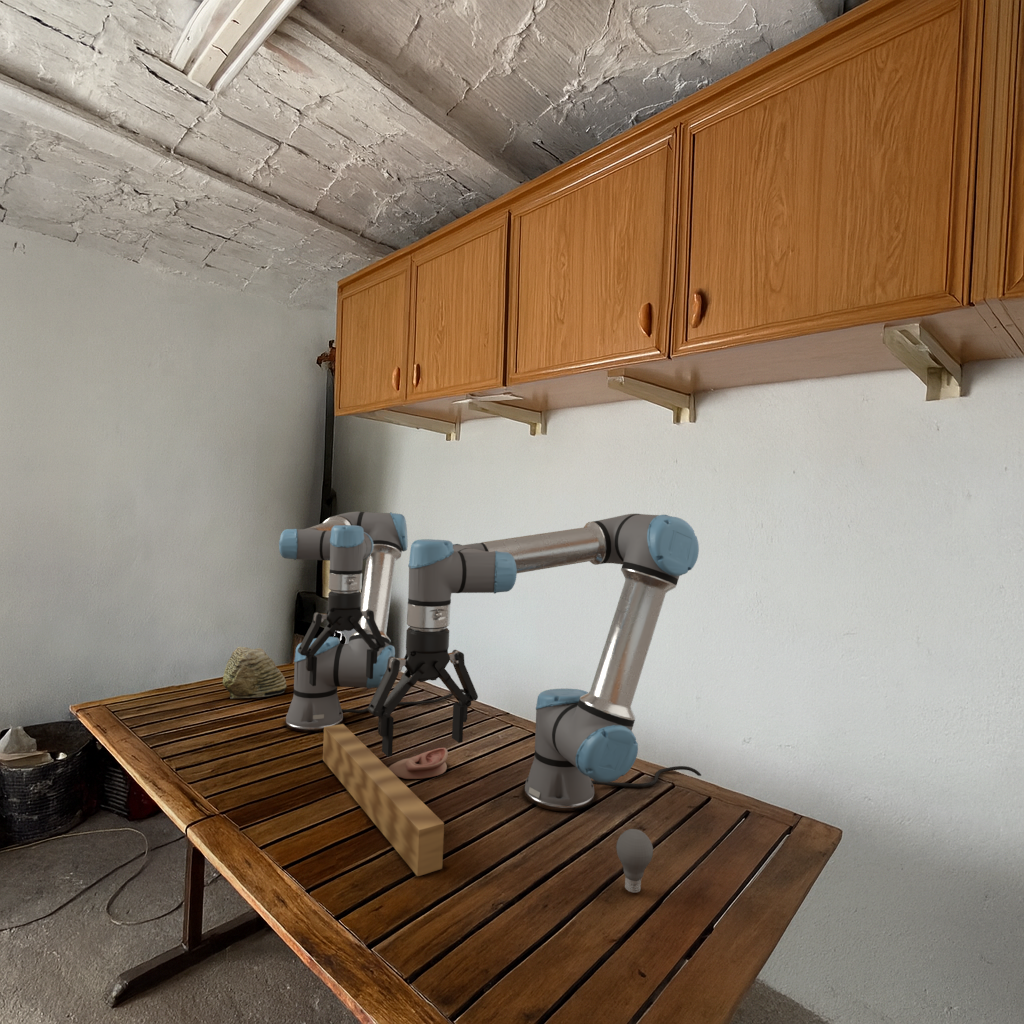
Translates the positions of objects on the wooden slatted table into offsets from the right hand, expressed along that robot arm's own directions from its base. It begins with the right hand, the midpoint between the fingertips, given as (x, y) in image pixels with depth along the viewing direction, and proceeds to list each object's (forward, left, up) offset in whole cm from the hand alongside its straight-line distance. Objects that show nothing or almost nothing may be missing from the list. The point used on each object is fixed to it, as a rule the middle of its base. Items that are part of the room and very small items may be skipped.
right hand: (423, 746), depth 112 cm
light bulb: (-24, +28, -20) cm, 42 cm away
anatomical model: (-19, -32, -20) cm, 42 cm away
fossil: (-5, -107, -20) cm, 109 cm away
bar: (-2, -22, -20) cm, 30 cm away
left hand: (-5, -44, 0) cm, 44 cm away
